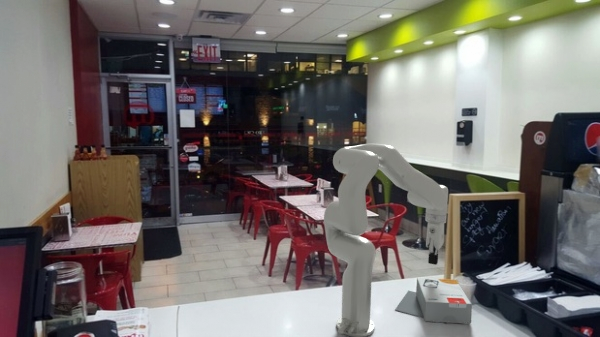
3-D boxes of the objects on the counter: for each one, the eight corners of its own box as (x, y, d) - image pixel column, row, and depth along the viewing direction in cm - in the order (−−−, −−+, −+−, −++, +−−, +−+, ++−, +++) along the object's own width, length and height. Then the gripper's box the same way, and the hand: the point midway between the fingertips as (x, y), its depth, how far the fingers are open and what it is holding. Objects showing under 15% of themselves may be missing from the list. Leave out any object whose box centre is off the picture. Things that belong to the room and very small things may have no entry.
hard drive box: (457, 278, 156) (473, 303, 136) (456, 297, 157) (472, 324, 137) (416, 277, 157) (426, 301, 138) (415, 295, 159) (425, 322, 139)
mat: (446, 324, 138) (446, 323, 138) (394, 310, 147) (394, 309, 147) (455, 302, 154) (455, 301, 154) (408, 291, 162) (408, 290, 162)
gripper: (442, 223, 145) (438, 272, 147) (449, 214, 157) (446, 259, 160) (421, 220, 148) (418, 267, 151) (430, 211, 161) (427, 255, 164)
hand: (432, 263), depth 156 cm, fingers closed
